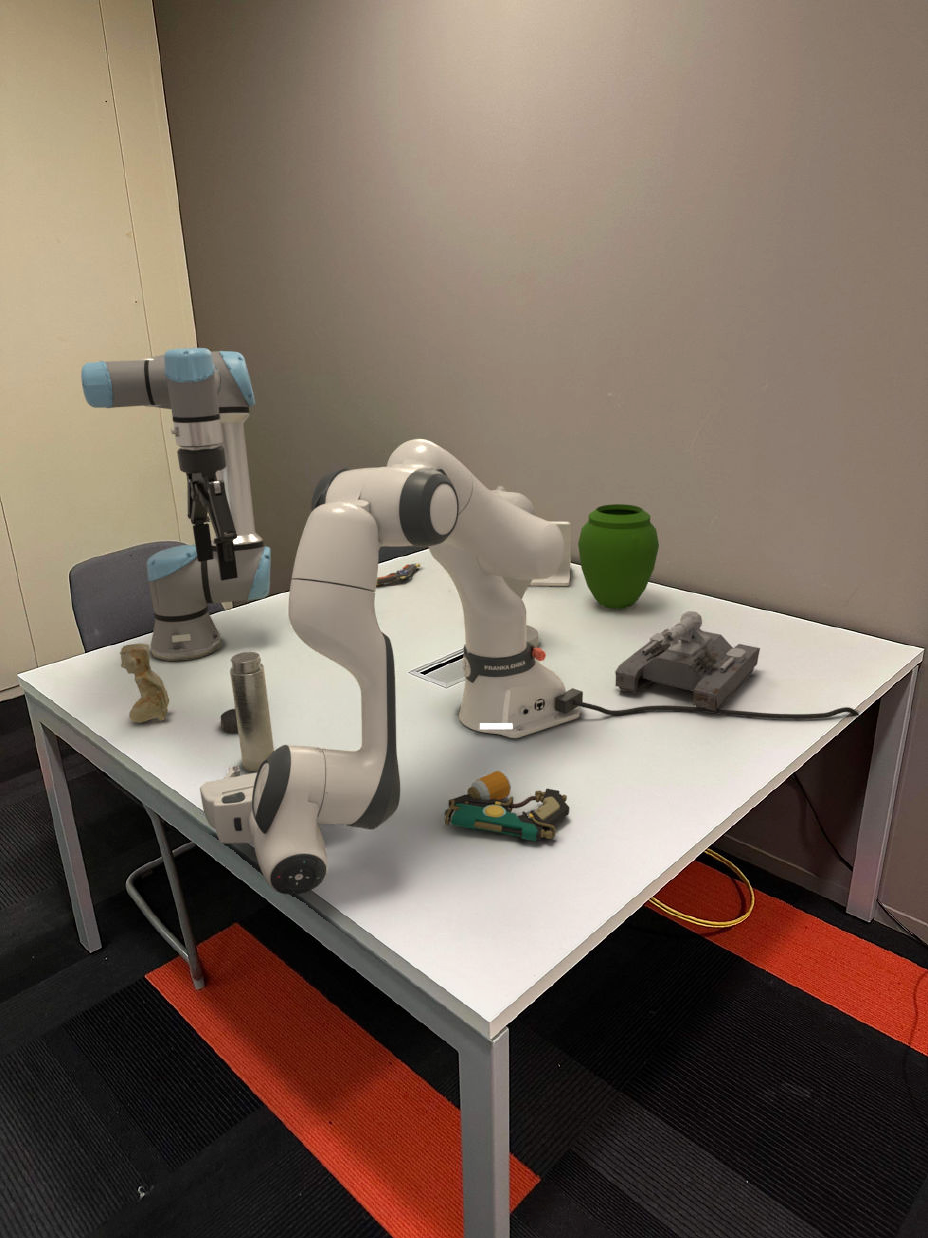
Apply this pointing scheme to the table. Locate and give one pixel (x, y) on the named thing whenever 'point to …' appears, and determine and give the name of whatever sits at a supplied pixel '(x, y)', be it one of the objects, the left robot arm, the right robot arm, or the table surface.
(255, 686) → the jar
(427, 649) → the table surface
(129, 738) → the table surface
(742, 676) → the toy
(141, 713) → the sculpture
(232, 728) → the lid
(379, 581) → the toy gun
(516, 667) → the right robot arm
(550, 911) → the table surface
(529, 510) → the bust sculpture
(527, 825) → the spray gun
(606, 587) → the vase
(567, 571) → the tablet stand
